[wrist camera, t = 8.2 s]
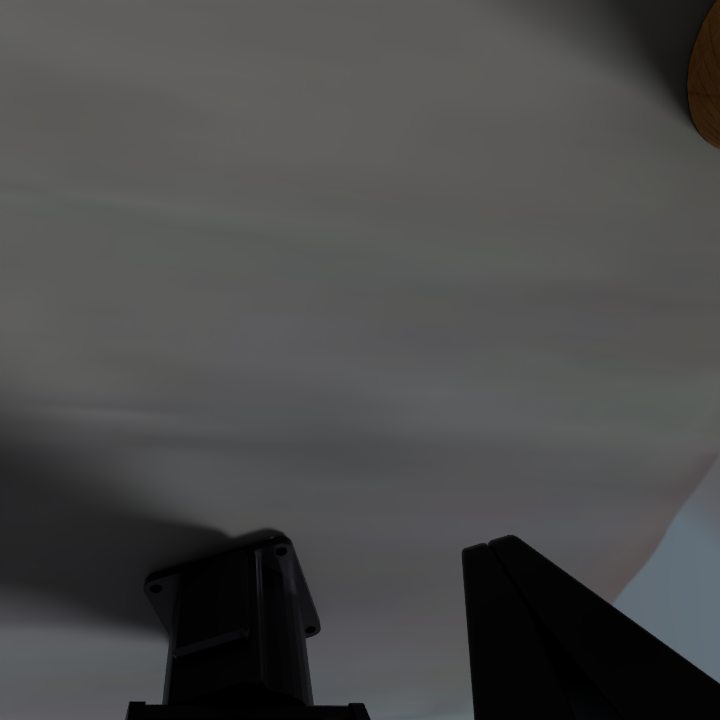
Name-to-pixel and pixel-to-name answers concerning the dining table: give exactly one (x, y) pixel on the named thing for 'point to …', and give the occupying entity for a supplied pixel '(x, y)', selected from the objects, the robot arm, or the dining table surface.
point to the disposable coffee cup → (706, 78)
